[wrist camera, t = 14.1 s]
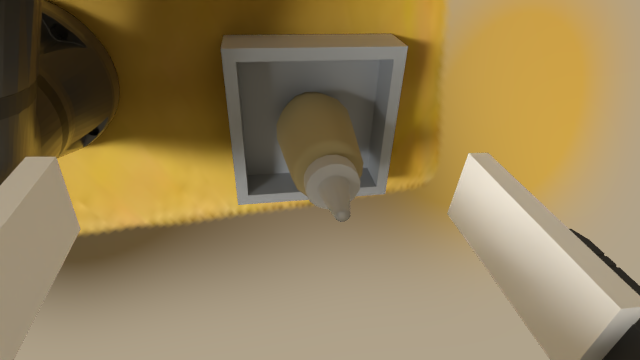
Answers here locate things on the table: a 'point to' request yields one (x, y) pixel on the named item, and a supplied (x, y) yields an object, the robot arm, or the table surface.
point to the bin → (309, 76)
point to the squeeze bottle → (321, 151)
